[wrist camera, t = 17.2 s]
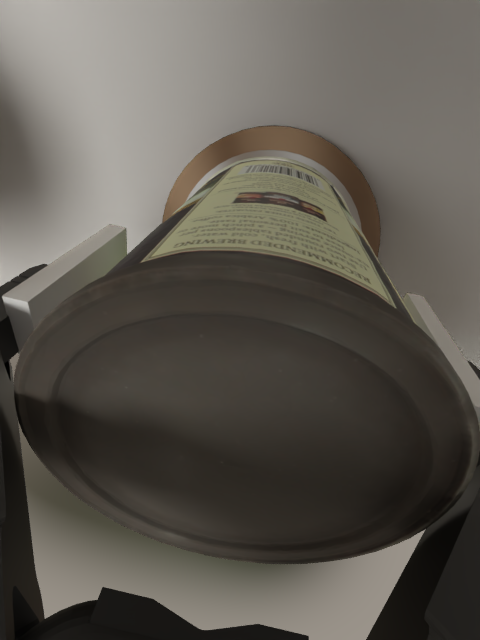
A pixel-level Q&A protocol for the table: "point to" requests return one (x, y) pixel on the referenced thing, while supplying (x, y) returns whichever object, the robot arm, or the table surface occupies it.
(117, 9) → the table surface
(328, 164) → the thin brown ring
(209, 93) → the table surface
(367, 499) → the coffee can
